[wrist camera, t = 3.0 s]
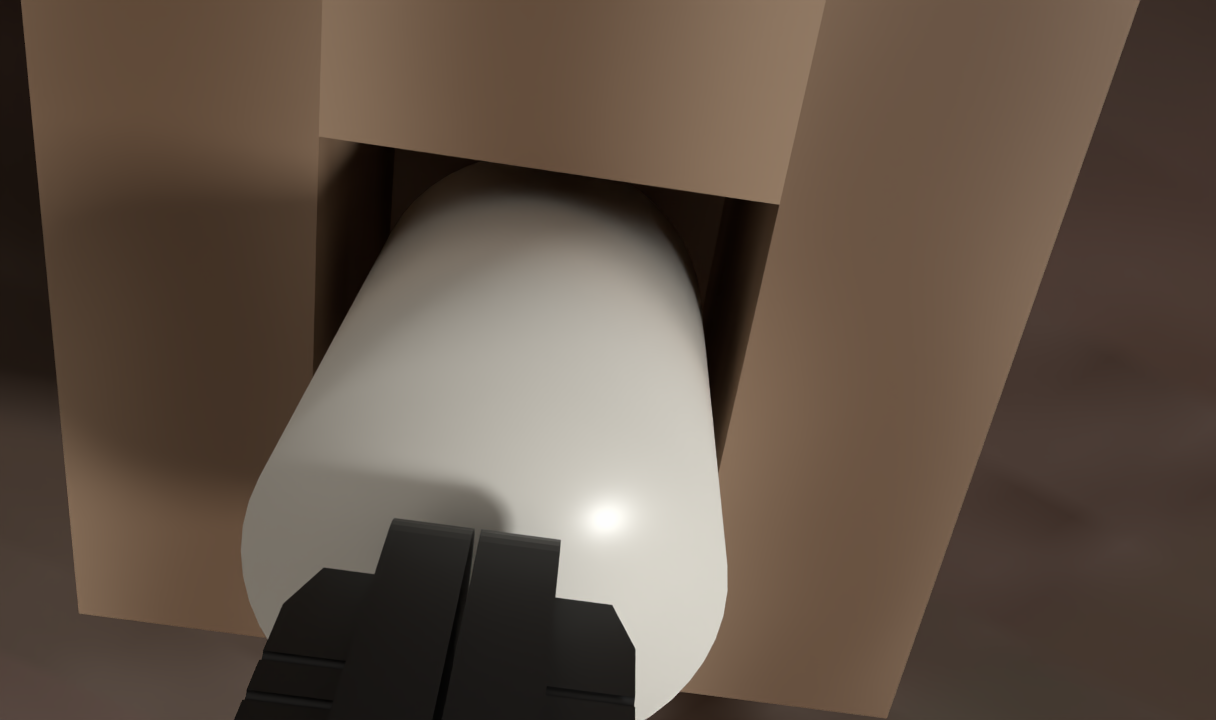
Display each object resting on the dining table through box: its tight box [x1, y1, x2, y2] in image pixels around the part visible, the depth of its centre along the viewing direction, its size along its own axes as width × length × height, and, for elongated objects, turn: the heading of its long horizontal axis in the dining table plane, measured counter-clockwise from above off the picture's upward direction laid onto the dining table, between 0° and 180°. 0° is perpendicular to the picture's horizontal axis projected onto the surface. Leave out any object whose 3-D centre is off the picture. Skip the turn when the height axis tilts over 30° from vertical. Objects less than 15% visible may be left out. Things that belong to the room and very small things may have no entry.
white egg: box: [241, 161, 727, 720], centre depth 13 cm, size 5×5×6 cm
